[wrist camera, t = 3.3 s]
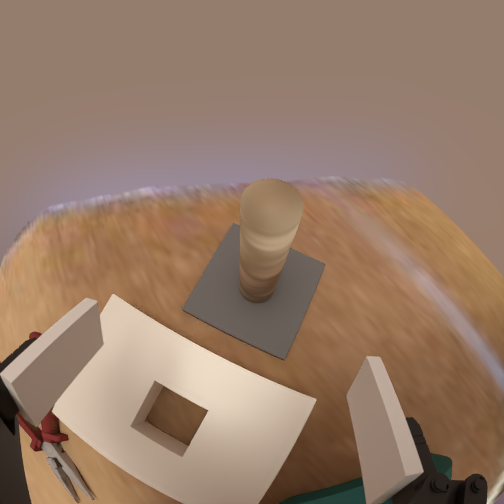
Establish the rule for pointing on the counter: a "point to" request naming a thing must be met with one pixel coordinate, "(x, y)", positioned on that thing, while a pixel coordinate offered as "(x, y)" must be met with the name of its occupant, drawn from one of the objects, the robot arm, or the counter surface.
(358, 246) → the counter surface
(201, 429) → the hole block
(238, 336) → the mat
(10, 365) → the robot arm
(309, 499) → the bracket
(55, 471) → the pliers
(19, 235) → the counter surface
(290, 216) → the peg
